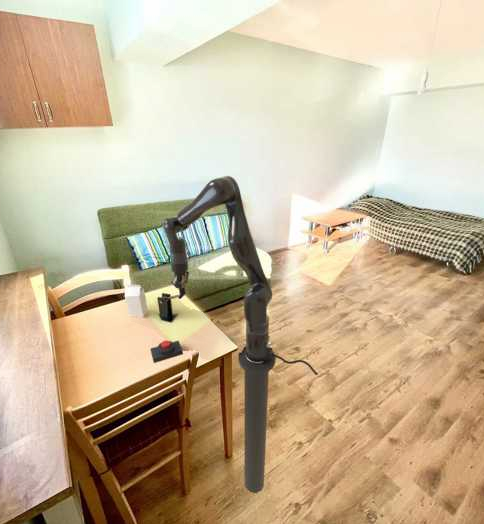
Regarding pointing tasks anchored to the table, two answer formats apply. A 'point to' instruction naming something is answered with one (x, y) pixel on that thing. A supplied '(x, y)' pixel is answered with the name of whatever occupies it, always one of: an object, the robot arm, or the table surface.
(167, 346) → the button
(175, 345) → the control block
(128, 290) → the milk carton
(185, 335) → the table surface
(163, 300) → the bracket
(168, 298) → the lever
